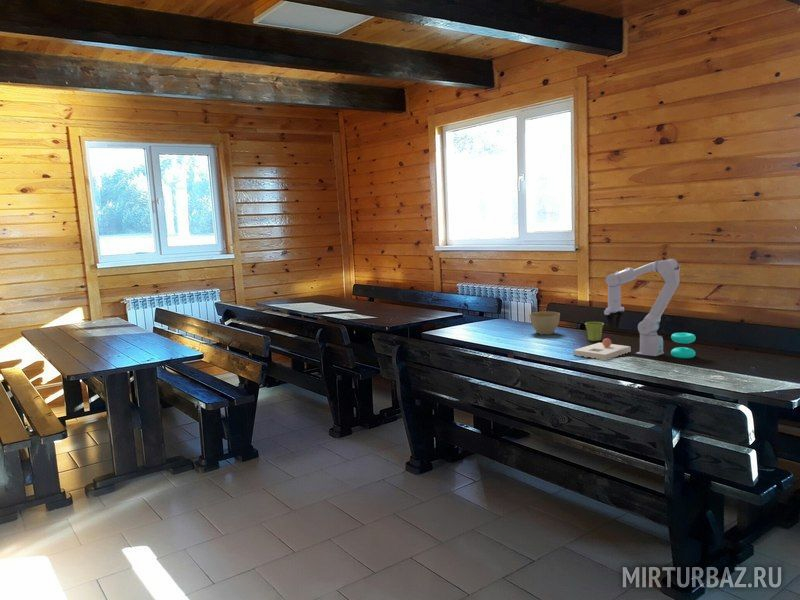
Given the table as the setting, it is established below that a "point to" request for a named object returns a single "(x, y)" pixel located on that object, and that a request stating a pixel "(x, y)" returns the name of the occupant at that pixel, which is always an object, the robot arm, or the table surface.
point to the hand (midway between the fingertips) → (614, 328)
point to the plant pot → (594, 330)
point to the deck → (602, 351)
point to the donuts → (682, 351)
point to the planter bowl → (545, 322)
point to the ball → (606, 342)
